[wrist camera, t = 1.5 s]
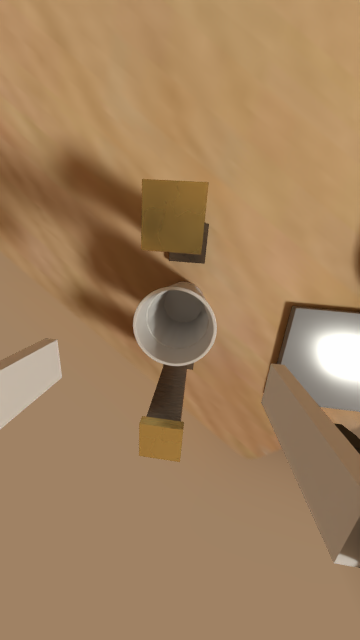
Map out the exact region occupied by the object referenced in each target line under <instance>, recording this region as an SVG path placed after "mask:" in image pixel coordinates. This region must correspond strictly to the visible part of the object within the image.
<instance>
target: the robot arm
mask: <svg viewBox="0 0 360 640" xmlns="http://www.w3.org/2000/svg"><path fill="white" fill-rule="evenodd" d="M61 378H62V373H61V366H60V357H59V349H58V342H57V339H48V338H46V339H43V340H41V341H39V342H37V343H35V344H33V345H31V346H29V347H27V348H25V349H23V350H21V351H19V352H17V353H15V354H13V355H11V356H9V357H7V358H5V359H3V360H1V361H0V429H1V428H2V427H3V426H5V425H6V424H7V423H8V422H9V421H10V420H12V419H13V418H14V417H15V416H16V415H18V414H19V413H20V412H21V411H23V410H24V409H25V408H26V407H27V406H28V405H30V404H31V403H32V402H33V401H34V400H36V399H37V398H38V397H39V396H40V395H41V394H43V393H44V392H45V391H46V390H48V389H49V388H50V387H51V386H52V385H53V384H55V383H56V382H57V381H58V380H59V379H61ZM261 403H262V405H263V407H264V409H265V412H266V414H267V416H268V418H269V420H270V423H271V425H272V427H273V429H274V432H275V434H276V436H277V438H278V440H279V443H280V445H281V447H282V449H283V451H284V454H285V456H286V458H287V460H288V462H289V465H290V467H291V469H292V471H293V474H294V476H295V478H296V480H297V482H298V485H299V487H300V489H301V491H302V494H303V496H304V498H305V500H306V503H307V505H308V507H309V509H310V511H311V514H312V516H313V518H314V520H315V522H316V525H317V527H318V529H319V531H320V534H321V536H322V538H323V540H324V542H325V545H326V547H327V549H328V551H329V554H330V556H331V558H332V560H333V562H334V563H336V564H342V565H347V566H353V567H359V568H360V439H359V438H358V437H357V436H356V435H355V434H353V433H352V432H351V431H349V430H348V429H347V428H345V427H344V426H343V425H341V424H334V423H333V422H332V421H331V420H330V418H329V417H328V416H327V415H326V414H325V412H324V411H323V410H322V409H321V408H320V407H319V405H318V404H317V403H316V402H315V401H314V399H313V398H312V397H311V396H310V395H309V393H308V392H307V391H306V390H305V389H304V388H303V386H302V385H301V384H300V383H299V382H298V380H297V379H296V378H295V377H294V376H293V374H292V373H291V372H290V371H289V370H288V369H287V367H286V366H285V365H280V364H271V365H270V369H269V374H268V378H267V382H266V386H265V390H264V394H263V398H262V402H261Z"/></svg>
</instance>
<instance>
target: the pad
mask: <svg viewBox="0 0 360 640" xmlns="http://www.w3.org/2000/svg"><path fill="white" fill-rule="evenodd" d="M277 364H280V365H285V366H286V367H287V369H288V370H289V371H290V372H291V373H292V374H293V376H294V377H295V378H296V379H297V380H298V382H299V383H300V384H301V385H302V386H303V388H304V389H305V390H306V391H307V392H308V393H309V395H310V396H311V397H312V398H313V399H314V401H315V402H316V403H317V404H318V405H319V407H326V408H334V409H342V410H350V411H358V412H360V312H353V311H342V310H331V309H320V308H309V307H298V306H292V309H291V313H290V317H289V320H288V324H287V328H286V332H285V336H284V339H283V343H282V347H281V351H280V354H279V358H278V362H277Z"/></svg>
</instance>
